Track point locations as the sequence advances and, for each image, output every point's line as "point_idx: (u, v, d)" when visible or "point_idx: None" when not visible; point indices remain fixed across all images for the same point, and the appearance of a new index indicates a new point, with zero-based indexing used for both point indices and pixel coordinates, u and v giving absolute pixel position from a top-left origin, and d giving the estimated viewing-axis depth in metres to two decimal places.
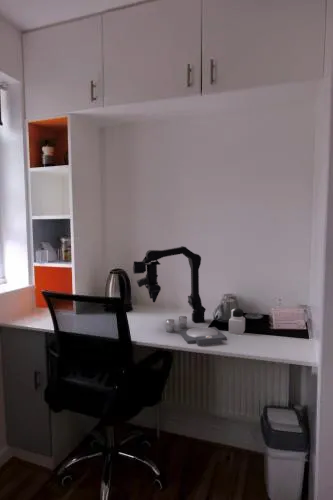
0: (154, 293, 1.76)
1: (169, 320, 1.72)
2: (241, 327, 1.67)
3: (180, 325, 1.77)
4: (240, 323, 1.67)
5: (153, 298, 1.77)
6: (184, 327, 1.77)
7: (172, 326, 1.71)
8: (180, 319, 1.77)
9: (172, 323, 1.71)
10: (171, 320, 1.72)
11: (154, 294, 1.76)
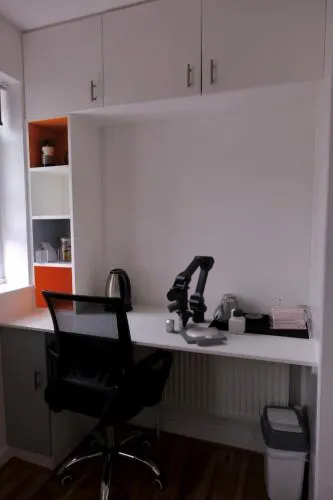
0: (184, 318, 1.75)
1: (169, 320, 1.72)
2: (241, 327, 1.67)
3: (180, 325, 1.77)
4: (240, 323, 1.67)
5: (183, 323, 1.75)
6: (184, 327, 1.77)
7: (172, 326, 1.71)
8: (180, 319, 1.77)
9: (172, 323, 1.71)
10: (171, 320, 1.72)
11: (184, 319, 1.75)
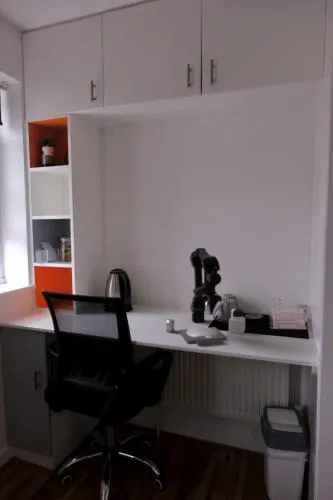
0: (212, 303, 1.62)
1: (169, 320, 1.72)
2: (241, 327, 1.67)
3: (207, 310, 1.64)
4: (240, 323, 1.67)
5: (211, 308, 1.62)
6: (211, 313, 1.64)
7: (172, 326, 1.71)
8: (207, 304, 1.64)
9: (172, 323, 1.71)
10: (171, 320, 1.72)
11: (212, 304, 1.62)
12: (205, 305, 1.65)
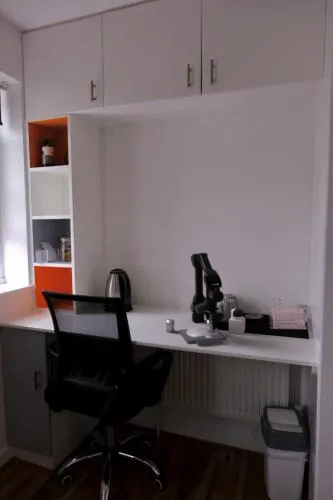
0: (215, 320, 1.61)
1: (169, 320, 1.72)
2: (241, 327, 1.67)
3: (208, 329, 1.64)
4: (240, 323, 1.67)
5: (214, 326, 1.61)
6: (213, 331, 1.64)
7: (172, 326, 1.71)
8: (209, 322, 1.64)
9: (172, 323, 1.71)
10: (171, 320, 1.72)
11: (215, 321, 1.61)
12: (207, 323, 1.65)
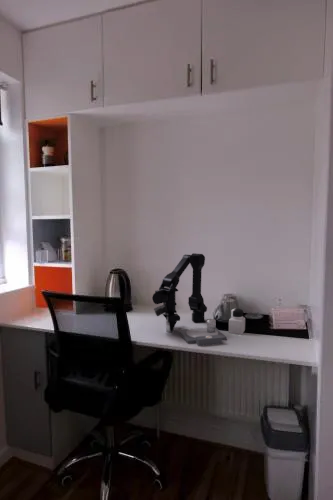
0: (172, 321, 1.69)
1: None
2: (241, 327, 1.67)
3: (208, 329, 1.64)
4: (240, 323, 1.67)
5: (171, 327, 1.70)
6: (213, 331, 1.64)
7: None
8: (209, 322, 1.64)
9: None
10: None
11: (172, 323, 1.69)
12: (207, 323, 1.65)
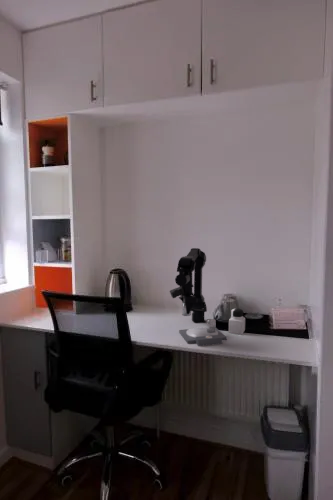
0: (188, 304, 1.61)
1: None
2: (241, 327, 1.67)
3: (208, 329, 1.64)
4: (240, 323, 1.67)
5: (187, 309, 1.62)
6: (213, 331, 1.64)
7: None
8: (209, 322, 1.64)
9: None
10: None
11: (188, 305, 1.61)
12: (207, 323, 1.65)
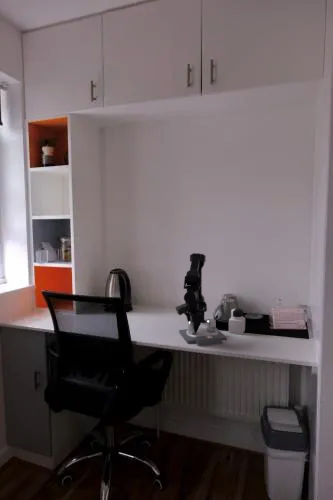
0: (196, 322, 1.58)
1: (191, 321, 1.63)
2: (241, 327, 1.67)
3: (208, 329, 1.64)
4: (240, 323, 1.67)
5: (195, 328, 1.58)
6: (213, 331, 1.64)
7: None
8: (209, 322, 1.64)
9: None
10: None
11: (196, 323, 1.58)
12: (207, 323, 1.65)
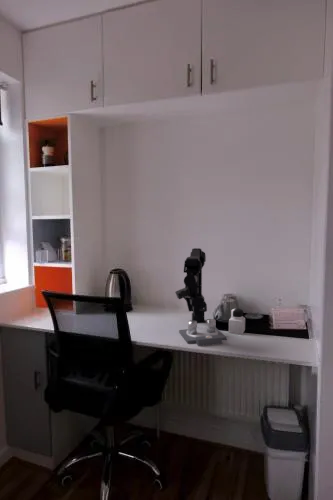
0: (196, 306, 1.57)
1: (191, 321, 1.63)
2: (241, 327, 1.67)
3: (208, 329, 1.64)
4: (240, 323, 1.67)
5: (195, 312, 1.58)
6: (213, 331, 1.64)
7: (195, 328, 1.62)
8: (209, 322, 1.64)
9: (195, 324, 1.62)
10: (193, 321, 1.63)
11: (196, 307, 1.57)
12: (207, 323, 1.65)
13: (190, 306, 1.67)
